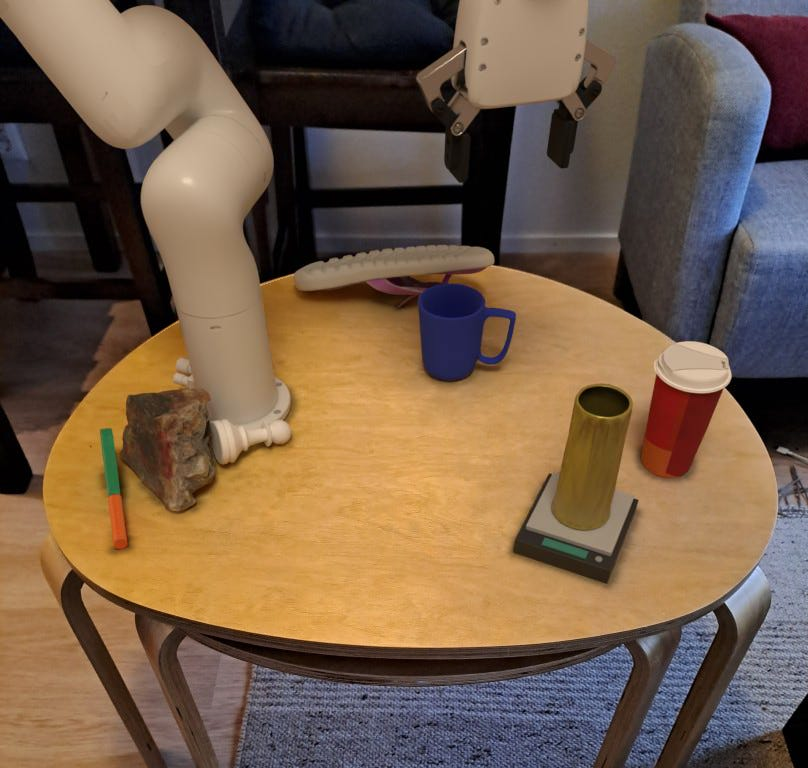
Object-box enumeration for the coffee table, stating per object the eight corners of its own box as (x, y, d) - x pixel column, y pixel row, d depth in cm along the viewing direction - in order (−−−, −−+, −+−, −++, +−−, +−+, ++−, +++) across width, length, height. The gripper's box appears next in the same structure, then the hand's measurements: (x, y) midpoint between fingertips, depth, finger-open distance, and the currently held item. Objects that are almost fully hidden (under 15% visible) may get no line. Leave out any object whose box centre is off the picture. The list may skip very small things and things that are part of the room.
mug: (506, 394, 102) (513, 325, 95) (412, 383, 104) (411, 315, 96) (513, 357, 108) (520, 289, 100) (423, 347, 109) (424, 279, 102)
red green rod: (113, 451, 95) (97, 453, 94) (110, 416, 90) (94, 417, 89) (131, 558, 87) (115, 561, 87) (129, 526, 82) (112, 528, 82)
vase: (547, 525, 83) (567, 416, 73) (554, 485, 87) (574, 376, 77) (607, 535, 82) (636, 426, 72) (612, 494, 86) (639, 385, 76)
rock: (227, 395, 94) (152, 360, 87) (251, 471, 87) (170, 440, 80) (168, 464, 99) (92, 436, 92) (185, 541, 92) (104, 517, 85)
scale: (513, 552, 84) (515, 535, 82) (546, 486, 91) (549, 468, 89) (607, 584, 81) (611, 567, 79) (635, 512, 88) (639, 495, 86)
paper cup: (700, 446, 95) (735, 344, 85) (698, 490, 90) (734, 387, 80) (633, 434, 97) (658, 333, 86) (627, 477, 92) (653, 375, 81)
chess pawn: (225, 454, 90) (301, 441, 93) (212, 413, 91) (288, 401, 94) (218, 471, 94) (291, 457, 98) (206, 431, 95) (279, 419, 99)
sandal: (492, 232, 116) (497, 283, 120) (298, 258, 121) (308, 307, 124) (493, 250, 105) (497, 305, 109) (279, 278, 110) (290, 330, 113)
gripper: (612, -84, 64) (576, 141, 77) (405, -70, 60) (402, 164, 73) (662, -61, 59) (614, 174, 72) (439, -45, 55) (430, 201, 68)
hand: (507, 169), depth 72 cm, fingers open, 9 cm apart
